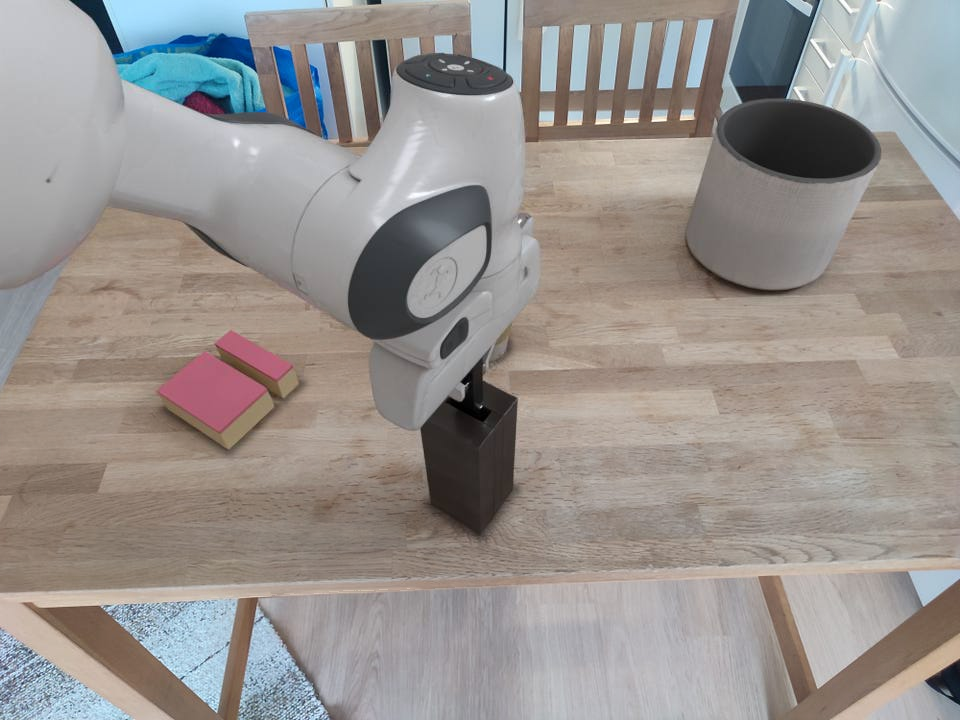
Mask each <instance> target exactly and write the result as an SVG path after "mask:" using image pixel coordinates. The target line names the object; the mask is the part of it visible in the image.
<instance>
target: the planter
mask: <svg viewBox="0 0 960 720" xmlns="http://www.w3.org/2000/svg"><path fill="white" fill-rule="evenodd" d="M881 159H882V147H881V144H880V142H879V140H878V138H877V137H876V135H875V134H874V132H872V131H871V130H870V129H869V128H868V127H867V126H866V125H864V124H863V123H862V122H861V121H859V120H857V119H856V118H854V117H852V116H850V115H849V114H846V113H845V112H843V111H840V110H838V109H835V108H833V107H831V106H827V105H823V104H819V103H816V102H812V101H808V100H802V99H794V98H779V97H777V98H775V97H773V98H762V99H761V98H759V99H754V100H748V101H746V102H745V101H744V102H741V103H739V104H737V105H734V106H732V107H731V108H729V109H728V110H726V111H725V112H723V114H722V115H721V116H720V118H719V119H718V121H717V124H716V127H715V131H714V134H713V137H712V141H711V144H710V147H709V151H708V154H707V158H706V161H705V164H704V168H703V171H702V174H701V177H700V180H699V184H698V186H697V187H698V188H697V190H696V193H695V197H694V201H693V204H692V206H691V210H690V213H689V217H688V220H687V224H686V231H685V233H686V234H685V238H686V243H687V246H688V249H689V251H690V252H691V254H692V255H693V257H694V258H695V259H696V260H697V261H698V262H699V263H700V264H701V265H702V266H703V267H704V268H706V270H708V271H710V272H711V273H713V274H714V275H716V276H717V277H719V278H720V279H723V280H725V281H726V282H730V283H732V284H735V285H738V286H741V287H744V288H749V289H753V290H761V291H785V290H792V289H797V288H800V287H803V286H806V285H808V284H810V283H812V282H814V281H816V280H817V279H818V278H819V277H821V275H822V274H823V273H824V272H825V270H826V269H827V267H828V266H829V264H830V262H831V261H832V259H833V257H834V255H835V253H836V251H837V249H838V247H839V244H840V243H841V240H842V239H843V236H844V234H845V232H846V231H847V228H848V226H849V224H850V222H851V220H852V218H853V216H854V214H855V212H856V210H857V208H858V205H859V204H860V201H861V200H862V198H863V196H864V194H865V191H866V190H867V188H868V186H869V184H870V182H871V180H872V179H873V176H874V174H875V172H876V170H877V168H878V166H879V164H880V161H881Z"/></svg>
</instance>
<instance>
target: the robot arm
mask: <svg viewBox="0 0 960 720" xmlns="http://www.w3.org/2000/svg"><path fill="white" fill-rule="evenodd" d="M390 85H391V86H390V97H389V98H390V99H389V108H388V111H387V112H386V116H385V118H384V119H383V123H382V125H381V127H380V128H379V130H378V131H377V133H376V135H375V136H374V138H373V140H372V142H371V143H370V144H369V145H368V147H367V148H366V149H365V151H364V152H363V153H362V154H359V153H357V152H354V151H352V150H350V149H347V148H345V147H343V146H341V145H339V144H337V143H334V142H331V141H330V140H327V139H325V138H323V137H321V136H319V135H317V134H316V133H315V132H313V131H311V130H310V129H307V128H306V127H304V126H302V125H300V124H299V123H297V122H296V121H295V122H294V121H293V120H291V119H289V118H288V117H286V116H283V115H280V114H277V113H273V112H265V111H249V112H248V111H247V112H234V113H216V114H215V113H206V112H205V113H204V112H201V111H198V110H196V109H193V108H191V107H189V106H186V105H184V104H181V103H179V102H177V101H175V100H173V99H170V98H168V97H165V96H164V95H161V94H158V93H156V92H154V91H151V90H149V89H147V88H145V87H142V86H139V85H137V84H135V83H133V82H131V81H128V80H127V79H123V78H121V75H120V72H119V69H118V66H117V63H116V60H115V58H114V55H113V53H112V50H111V48H110V47H109V44H108V43H107V40H106V39H105V36H104V35H103V34H102V32H101V30H100V28H99V26H98V25H97V23H96V22H95V20H93V18H92V17H91V16H90V15H89V14H87V13H86V12H85V11H83V9H81V8H80V7H78V6H77V5H76V4H75V3H73V2H72V1H71V0H0V291H7V290H8V291H9V290H15V289H19V288H21V287H24V286H25V285H27V284H29V283H32V282H33V281H35V280H37V279H40V278H41V277H42V276H44V275H45V274H47V273H49V272H50V271H52V270H54V269H55V268H57V267H58V266H59V265H61V264H63V262H64V261H65V260H67V259H68V258H69V257H70V256H71V255H72V254H74V252H76V251H77V250H78V249H79V248H80V247H81V245H82V244H84V242H85V241H86V240H87V239H88V238H89V236H90V235H91V234H92V232H93V231H94V230H95V228H96V227H97V226H98V224H99V223H100V220H101V219H102V218H103V216H104V213H105V212H106V211H107V210H106V209H107V208H113V209H118V210H123V211H126V212H127V211H128V212H132V213H138V214H141V215H147V216H152V217H156V218H157V217H158V218H162V219H168V220H172V221H177V222H181V223H183V224H184V225H186V227H187V228H189V229H190V230H191V231H192V232H193V233H194V234H195V235H196V236H197V237H198V238H199V239H200V240H201V241H202V242H204V243H205V244H206V245H207V246H208V247H209V248H211V249H213V250H214V251H215V252H217V253H219V254H221V255H222V256H224V257H226V258H228V259H230V260H231V261H234V262H236V263H238V264H239V265H241V266H244V267H247V268H248V269H251V270H253V271H254V272H256V273H257V274H260V275H261V276H263V277H265V278H266V279H268V280H269V281H271V282H273V283H275V284H276V285H278V286H280V287H281V288H283V289H285V290H286V291H288V292H290V293H291V294H293V295H295V296H296V297H298V298H300V299H301V300H303V301H304V302H306V303H307V304H309V305H311V306H312V307H314V308H316V309H317V310H319V311H321V312H322V313H323V314H325V315H327V316H329V317H330V318H332V319H334V320H336V321H337V322H339V323H341V324H343V325H344V326H345V327H348V328H350V329H351V330H353V331H355V332H357V333H359V334H361V335H362V336H364V337H366V338H368V339H370V340H371V341H373V344H372V346H371V349H370V352H369V357H368V372H369V381H370V387H371V392H372V397H373V401H374V406H375V408H376V411H377V412H378V415H380V416H381V417H383V419H385V420H386V421H388V422H390V423H391V424H393V425H395V426H397V427H399V428H401V429H403V430H406V431H409V432H417V431H419V430H420V428H421V427H422V426H423V425H424V423H425V422H426V421H427V420H428V419H429V417H430V416H431V415H432V414H433V413H434V412H435V411H436V409H437V408H438V407H439V406H440V405H441V404H442V402H443V401H444V400H445V399H446V398H447V397H448V396H449V397H451V398H453V399H455V400H457V401H459V402H461V401H462V400H463V399H464V398H465V397H466V395H467V394H468V393H469V392H470V380H468V379H466V378H464V377H465V376H466V375H467V374H468V372H469V371H470V370H471V369H472V368H473V367H474V366H475V364H476V363H477V362H478V361H479V360H480V359H481V358H482V356H483V376H484V375H485V374H487V372H488V370H489V367H490V366H489V362H490V361H489V358H490V356H491V353H492V351H493V348H494V346H495V343H496V340H497V339H498V338H499V337H500V336H501V334H502V333H503V332H504V331H505V330H506V329H507V328H508V326H509V325H510V324H511V323H512V324H513V322H514V321H515V320H516V319H517V317H518V316H519V315H520V314H521V313H522V312H523V311H524V309H526V307H527V306H528V304H530V302H531V301H532V300H533V299H534V298H535V296H536V295H537V292H538V290H539V287H540V285H541V280H542V260H541V259H542V255H541V247H540V243H539V241H538V239H536V238H535V237H534V227H535V220H534V218H533V217H532V216H531V214H530V213H527V212H525V213H523V212H519V211H520V209H521V207H522V204H523V201H524V198H525V189H526V162H527V161H526V160H527V159H526V158H527V157H526V155H527V154H526V153H527V151H526V128H525V118H524V109H523V103H522V98H521V95H520V91H519V88H518V85H517V83H516V80H514V78H513V77H512V76H511V75H510V74H509V73H508V72H506V71H505V69H503V68H501V67H500V66H497V65H494V64H492V63H490V62H487V61H484V60H481V59H478V58H475V57H471V56H468V55H464V54H460V53H457V54H455V53H445V52H432V53H431V52H430V53H423V54H422V53H421V54H417V55H414V56H412V57H409V58H408V59H405V60H403V61H401V62H399V63H398V64H397V65H395V68H394V69H393V73H392V78H391V84H390Z"/></svg>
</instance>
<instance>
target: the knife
mask: <svg viewBox="0 0 960 720" xmlns="http://www.w3.org/2000/svg"><path fill="white" fill-rule="evenodd" d="M464 378H466V379H468V380H470V392H469V393H468V394H467V395H466V397H465V398H464V399H463V400H462V401H461V402H459V401H457V400H455V399H454V401H455V408H457V409H459V410H460V411H462V412H464V413H466V414H468V415H470V416H472V417H474V418H475V419H477V420H479V421H481V422H483V413H482V405H480V403H481V402H482V401H483V381H484V375H483V356H482V358H481V359H480V360H479V361H478V362H477V363H476V364H475V366H474V367H473V368H472V369H471V370H470V371H469V372H468V374H467V375H466V376H465V377H464Z"/></svg>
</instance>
